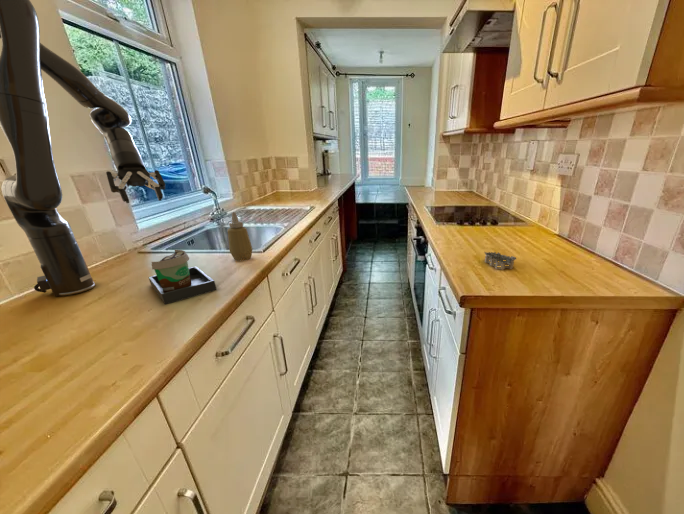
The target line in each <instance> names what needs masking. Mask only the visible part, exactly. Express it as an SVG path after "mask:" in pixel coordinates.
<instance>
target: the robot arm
mask: <svg viewBox="0 0 684 514" xmlns="http://www.w3.org/2000/svg"><path fill="white" fill-rule="evenodd" d="M0 40H1V51H0V129H1V132H2V133H3V135H4V137H5V139H6V140H7V142H8V144H9V146H10V148H11V151H12V154H13V157H14V165H15V174H13V175H10V176H8V177H6V178H4V180H3V181H2V182H1V186H0V189H1V194H2V196H3V199H4V201H5V203H6V205H7V207H8V209H9V211H10V213H11V215H12V216H13V219H14V220H15V222H16V223H17V225H18V226H19V228H21V230H22V231H23V232H24V233H25V236H26V237H27V239H28V242H29V243H30V245H31V247H32V250H33V252H34V254H35V256H36V258H37V260H38V262H39V265H40V266H39V267H40V269H41V272H42V274H43V275H41V276H37V279H36V284H35V285H34V286H33V289H34V291H36V292H39V293H45V294H46V293H47V292H48V291H49V290H51V292H52V294H53V296H54V297H55V298H57V297H62V296H63V297H65V296H71V295H72V296H73V295H76V294H77V295H78V294H81V293H85V292H87V291H89V290H92V289H93V288H95V287H96V283H95V281H94V279H93V276H92V275H91V272H90V269H89V267H88V264H87V263H86V261H85V257H84V255H83V252H82V250H81V248H80V246H79V244H78V241H77V239H76V237H75V234H74V231H73V229H72V227H71V224H70V223H69V221H68V220H66V219H64V218H63V217H62V216H61V214H60V213H59V211H58V209H57V208H58V207H59V206H60V205H61V204H62V201H63V190H62V187H61V184H60V180H59V176H58V172H57V169H56V165H55V160H54V156H53V148H52V146H53V145H52V139H51V133H50V125H49V124H50V123H49V116H48V109H47V102H46V98H45V97H46V96H45V93H44V83H43V82H44V81H43V74H42V72H44V73H45V74H46V75H47V76H49V77H50V78H51V79H52V80H53V81H54V82H56V83H57V84H58V85H59V86H60V87H61V88H62V89H63V90H64V91H65V92H66V93H68V94H69V96H71V98H73V99H74V100H75V101H76V102H77V103H78V104H79V105H80V106H82V107H83V108H85V109H92V110H91V111H90V113H89V119H90V120H91V122H92V123H93V125H94V126H95V128H97V129H98V131H99V132H100V133H101V134H102V136H103V137H104V139H105V141H106V143H107V145H108V149H109V153H110V155H111V156H110V157H111V159H112V161H113V163H114V166H115V168H116V171H117V173H112V172H111V171H108V170H107V171H106V173H105V174H106V178H107V181H108V186H109V189H110V191H111V193H119V195H120V198H121V200H122V201H123V203H124V202H125V203H126V204H130V198H129V197H128V194H127V192H126V191H127V190H128V189H129V188H130V187H132V188H134V187H147V188H149V189H151V190H153V191H154V192H155V195H156V198H157V200H158V201H159V202H160V201H162V200H163V198H164V195H163V192H162V190H163V191H164V190H166V183H165V180H164V179H163V178H164V177H162V175H161V173H160V171H159V170H158V169H156V170H154V171H152V172H151V171H150V172H149V171H148V170H147V168H146V166H145V163H144V161H143V157H142V156H141V154H140V153H141V152H140V151H139V149H138V147H137V146H136V143H135V141H134V139H133V137H132V134H131V133H130V132H129V131H128V130H127V129H125V128H126V127H129V126H130V125H131V124H132V117H131V116H130V113H129V112H128V111H127V109H126V108H125V107H123V106H122V105H121V104H120V103H118V102H116V101H115V100H114V99H112V98H111V97H110V96H108V95H106V94H105V93H104V92H102V91H101V90H99V88H97V87H96V85H95V84H94V83H93V82H92V81H91V80H90V79H89V78H88V77H87V76H86V75H85V74H84V73H83V72H82V71H81V70H80V69H78V68H77V67H76V66H75V65H73V64H72V63H70V62H69V61H67V60H66V59H64V58H63V57H62V56H60V55H59V54H57V53H56V52H54V51H53V50H51V49H50V48H48V47H47V46H45V45H44V44H43V43H41V30H40V20H39V16H38V13H37V11H36V9H35V7H34V5H33V2H32V1H31V0H0ZM152 178H153V179H152ZM117 179H119V180H120V184H119V185H116V183H115V182H116V181H117ZM154 180H155V181H157V182H155V181H154Z"/></svg>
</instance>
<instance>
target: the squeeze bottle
mask: <svg viewBox="0 0 684 514" xmlns="http://www.w3.org/2000/svg"><path fill="white" fill-rule="evenodd" d="M228 226H229V228H228V229H227V239H228V240H227V241H228V249H229V254H231V256H232V258H233V260H234V261H235V262H247V261H250V260H251V259H252V255H253V246H252V242H251V239H250V236H249V232H248V228H247V227H246V226H244V222H243V221H242V220H240V219H239V216H238V214H237V212H236V211H232V212H231V221H229V222H228Z"/></svg>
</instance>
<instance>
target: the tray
mask: <svg viewBox="0 0 684 514" xmlns="http://www.w3.org/2000/svg"><path fill="white" fill-rule="evenodd" d="M188 268H189V273H190V279H191V285H190V286H189V287H185V288H181V289H177V290H173V291H169V292H166V293H164V292H163V290H162V287H161V285H160V282H159V280H158V277H157V275H156V274H155V275H151V276H148V280H149V283H150V286H151V287H152V289H153V290H154V292H155V293H156V295H157V296H158V297H159V299H160V300H161V301H162V302H163V304H164V305H169V304H172V303H176V302H179V301H182V300H186V299H189V298H193V297H197V296H200V295H205V294H208V293H211V292H215V291H217V290H218V289H217V286H216V281H215V280H214V279H213V278H212V277H210V276H209V275H208V274H207V273H206V272H204V271H203V270H202V269H201V268H199V267H198V266H196V265H195V266H192V267H188Z"/></svg>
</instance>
